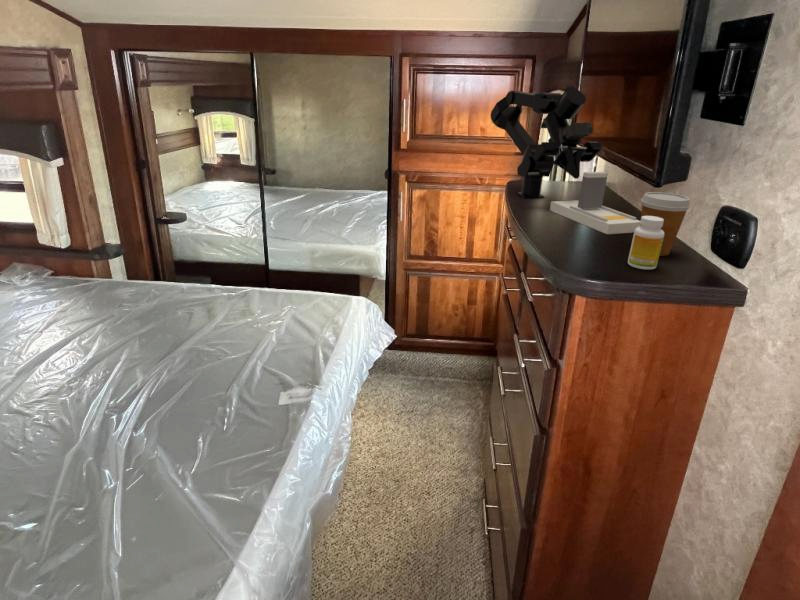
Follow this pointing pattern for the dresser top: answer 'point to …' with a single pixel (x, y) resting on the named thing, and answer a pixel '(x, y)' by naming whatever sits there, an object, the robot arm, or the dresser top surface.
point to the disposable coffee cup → (666, 214)
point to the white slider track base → (597, 217)
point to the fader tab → (592, 190)
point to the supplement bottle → (646, 243)
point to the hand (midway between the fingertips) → (577, 177)
